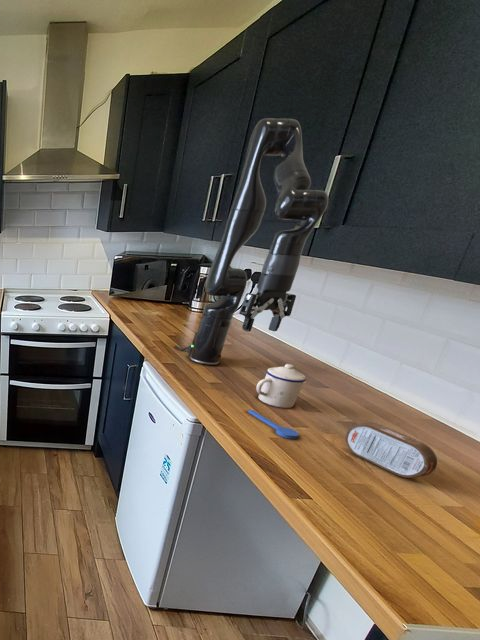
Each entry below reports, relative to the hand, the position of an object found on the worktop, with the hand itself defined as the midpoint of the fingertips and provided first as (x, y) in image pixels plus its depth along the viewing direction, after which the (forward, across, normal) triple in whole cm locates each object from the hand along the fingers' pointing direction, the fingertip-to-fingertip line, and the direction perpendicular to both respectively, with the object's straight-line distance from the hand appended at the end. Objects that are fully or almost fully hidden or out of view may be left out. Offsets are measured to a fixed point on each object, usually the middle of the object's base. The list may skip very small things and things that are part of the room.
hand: (259, 330), depth 113 cm
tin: (+21, -4, +36) cm, 42 cm away
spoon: (+20, +6, +18) cm, 28 cm away
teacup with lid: (+20, -6, +6) cm, 22 cm away
